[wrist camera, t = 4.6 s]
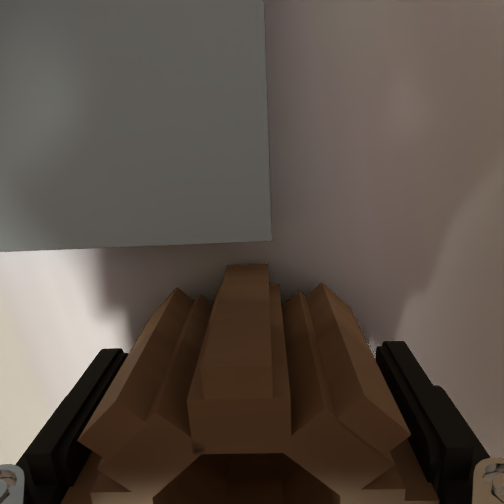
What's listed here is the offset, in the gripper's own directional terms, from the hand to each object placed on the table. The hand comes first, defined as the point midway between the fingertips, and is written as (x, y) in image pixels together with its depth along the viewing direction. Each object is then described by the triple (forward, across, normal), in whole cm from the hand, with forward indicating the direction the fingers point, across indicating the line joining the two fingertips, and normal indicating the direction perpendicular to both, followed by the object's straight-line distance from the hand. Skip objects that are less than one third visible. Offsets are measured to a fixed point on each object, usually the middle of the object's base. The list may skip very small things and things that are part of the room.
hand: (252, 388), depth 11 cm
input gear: (+1, 0, 0) cm, 1 cm away
